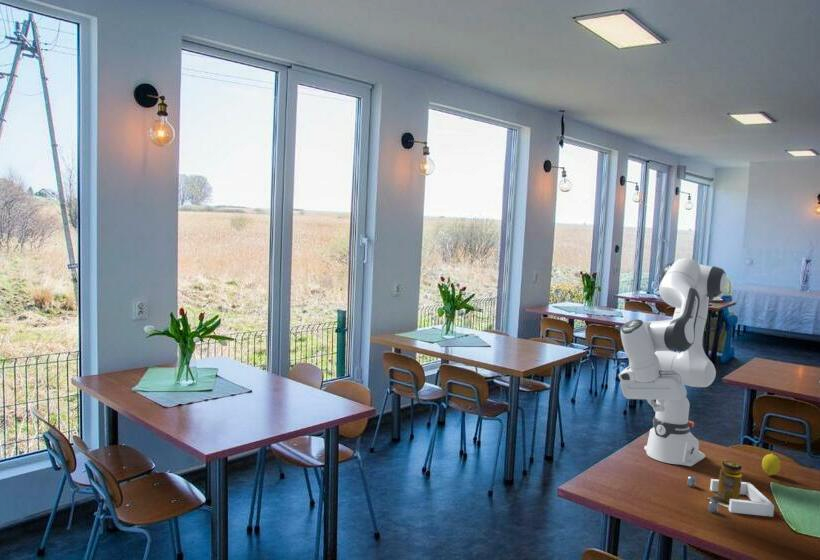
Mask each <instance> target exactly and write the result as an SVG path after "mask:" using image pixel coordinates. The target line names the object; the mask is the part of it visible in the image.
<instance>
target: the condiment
mask: <svg viewBox="0 0 820 560" xmlns="http://www.w3.org/2000/svg"><path fill="white" fill-rule="evenodd" d="M721 464H722V465H721V468H720V470H719V476H718V477H719V478H718V480H719V484H718V492H717V493H716V495H713V496H710V497H709V496H708V497H707V500H709V501H710V500H713V501H716V502H718V505H719V506H723V507H726V508H727V509H729V502H730V499H737V500H740V497H741V494H740V488H741V482H742V478H743V475H742V465H741V464H740V463H738V462H735V461H733V460H732V461H730V460H724V461H723V462H722V463H721ZM726 504H727V505H726Z"/></svg>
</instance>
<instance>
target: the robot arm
mask: <svg viewBox="0 0 820 560" xmlns="http://www.w3.org/2000/svg"><path fill="white" fill-rule="evenodd" d="M659 277H660V283H659V286H658V293H659V296H660V298H661V299H662V300H663V302H664V303H666V304H667V305H668V306H669V307H672V308H675V309H674V312H673V317H672V319H665V320H651V321H650V320H648V321H643V320H642V319H633V320H630V321H627V322H625V323H624V324H623V325H622V326H621V327H620V339H621V343H622V344H621V345H622V347H623V350H624V353H625V356H627V358H628V366H627V367H625V368H624V369H623V370H622V371H620V373H618V379H619V380H620V383H619V385H620V389H621V392H622V396H624V398H625V399H626V400H627V399H628V400H646V402H647V404H649V405H650V406H651V407H652V409H653V412H655V415H654V416H653V419H652V428H650V430H649V434H648V438H647V439H648V440H647V444H646V445H644V448H643V449H644V450H645V452H646V455H647V456H648V457H649V458H651V459H653V460H656V461H658V462H661V463H666V464H672V465H681V466H687V467H693V466H695V465H696V464H697V463H699V462H700V461H702V460H703V459H705V458H706V454H705V453H703V452H702V451H700V450H699V449H700V442H699V440H698V438H696V437H695V435H693V433H692V432H691V429H690V428H694V426H695V422H694V421H691V420H689V413H690V400H689V399H688V397H687V394H688V392H687V389H686V386H688V387H692V388H693V387H694V388H707V387H710V385H712V384H713V382H715V379H716V375H717V371H716V370H717V369H716V368H715V365H714V363H713V362H712V360H710V359H709V357H708V356H707V354H706V352H705V350H704V346H703V337H704V331H705V327H706V323H707V319H708V312H709V302H711V301H713V300H714V298H717V297H720V295H721V294H723V292H724V291H725V289H726V286H727V282H728V280H727V279H728V278H727V274H726V271H725V270H724V269H723V268H721V267H718V266H716V265H715V266H714V265H713V266H711V265H705V264H700V263H698V262H697V261H696V260H694V259H692V258H690V257H683V258H679V259H677V260H676V261H674V262H670V263H667V264H665V265H664V266H663V267H662V270H661V272H660V275H659Z"/></svg>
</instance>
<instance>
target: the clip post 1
mask: <svg viewBox="0 0 820 560" xmlns="http://www.w3.org/2000/svg"><path fill="white" fill-rule="evenodd" d="M696 480H697V477H696V476H693V475H688V476H687V482H686V483H687V484H686V485H687V487H689V488H692V489H693V488H694V489H695V488H696V484H697V483H696V482H697V481H696Z"/></svg>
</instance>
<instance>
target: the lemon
mask: <svg viewBox="0 0 820 560" xmlns="http://www.w3.org/2000/svg"><path fill="white" fill-rule="evenodd" d="M761 467H762V469H763V471H764V473H766V474H767V475H768V476H769V477H770V476H773V475H776V474H778V473H779V472H780V470H781V460H780V459H779V457H778V456H777V455H776V454H774V453H773V452H772V453H768V454H766V455H764V457H763V458H762V461H761Z"/></svg>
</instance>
